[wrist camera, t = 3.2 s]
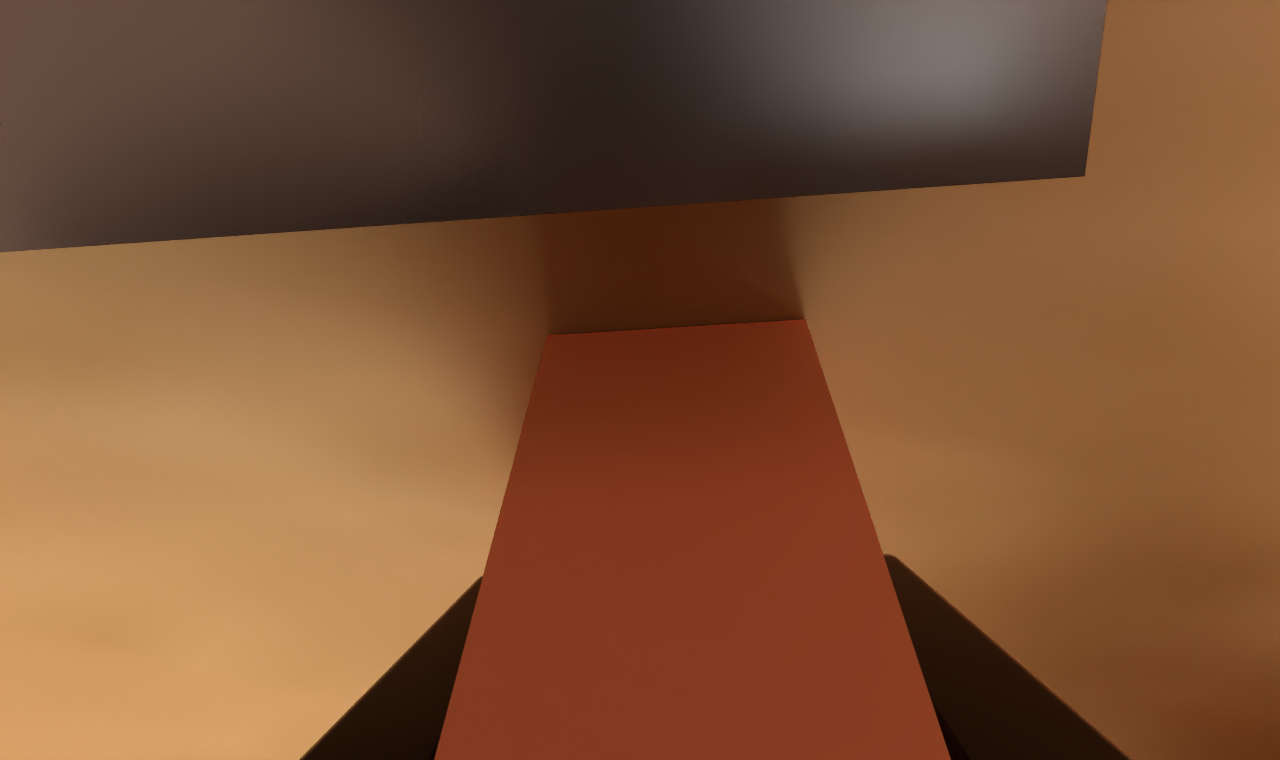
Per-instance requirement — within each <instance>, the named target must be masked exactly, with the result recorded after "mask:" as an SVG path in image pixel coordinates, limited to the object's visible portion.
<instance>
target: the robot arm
mask: <svg viewBox="0 0 1280 760" xmlns="http://www.w3.org/2000/svg"><path fill="white" fill-rule="evenodd" d="M883 556H884V559H885V562H886V565H887V568H888V571H889V574H890V577H891V580H892V583H893V586H894V589H895V592H896V595H897V598H898V601H899V604H900V607H901V610H902V613H903V616H904V619H905V622H906V625H907V628H908V631H909V635H910V638H911V641H912V644H913V647H914V650H915V653H916V656H917V659H918V662H919V665H920V668H921V671H922V674H923V677H924V680H925V683H926V686H927V689H928V692H929V695H930V698H931V701H932V704H933V707H934V710H935V713H936V716H937V719H938V722H939V725H940V728H941V731H942V734H943V737H944V740H945V743H946V746H947V750H948V753H949V756H950V759H951V760H1132V759H1130V758H1129V757H1128V756H1127V755H1126V754H1125V753H1123V752H1122V751H1121V750H1120V749H1119V748H1118V747H1116V746H1115V745H1114V744H1113V743H1112V742H1111V741H1109V740H1108V739H1107V738H1106V737H1105V736H1104V735H1102V734H1101V733H1100V732H1099V731H1098V730H1097V729H1095V728H1094V727H1093V726H1092V725H1091V724H1090V723H1088V722H1087V721H1086V720H1085V719H1084V718H1083V717H1082V716H1080V715H1079V714H1078V713H1077V712H1076V711H1075V710H1073V709H1072V708H1071V707H1070V706H1069V705H1068V704H1066V703H1065V702H1064V701H1063V700H1062V699H1061V698H1059V697H1058V696H1057V695H1056V694H1055V693H1054V692H1052V691H1051V690H1050V689H1049V688H1048V687H1047V686H1045V685H1044V684H1043V683H1042V682H1041V681H1040V680H1039V679H1037V678H1036V677H1035V676H1034V675H1033V674H1032V673H1030V672H1029V671H1028V670H1027V669H1026V668H1025V667H1023V666H1022V665H1021V664H1020V663H1019V662H1018V661H1016V660H1015V659H1014V658H1013V657H1012V656H1011V655H1009V654H1008V653H1007V652H1006V651H1005V650H1004V649H1002V648H1001V647H1000V646H999V645H998V644H997V643H996V642H994V641H993V640H992V639H991V638H990V637H989V636H987V635H986V634H985V633H984V632H983V631H982V630H980V629H979V628H978V627H977V626H976V625H975V624H973V623H972V622H971V621H970V620H969V619H968V618H966V617H965V616H964V615H963V614H962V613H961V612H959V611H958V610H957V609H956V608H955V607H954V606H952V605H951V604H950V603H949V602H948V601H947V600H946V599H944V598H943V597H942V596H941V595H940V594H939V593H937V592H936V591H935V590H934V589H933V588H932V587H930V586H929V585H928V584H927V583H926V582H925V581H923V580H922V579H921V578H920V577H919V576H918V575H916V574H915V573H914V572H913V571H912V570H911V569H909V568H908V567H907V566H906V565H905V564H904V563H903V562H901V561H900V560H899V559H898V558H896V557H895V556H893V555H890V554H883ZM482 578H483V576H481V577H480V578H479V579H477V580H476V581H475V582H474V583H473V584H472V585H471V586H470V587H469V588H468V589H467V591H466V592H465V593H464V594H463V595H462V596H461V597H460V598H459V599H458V600H457V601H456V602H455V603H454V604H453V605H452V606H451V607H450V608H449V609H448V610H447V611H446V612H445V613H444V614H443V615H442V616H441V617H440V618H439V619H438V620H437V621H436V622H435V623H434V624H433V625H432V626H431V627H430V628H429V629H428V630H427V631H426V632H425V633H424V634H423V635H422V636H421V637H420V638H419V639H418V640H417V641H416V642H415V643H414V644H413V645H412V646H411V647H410V648H409V649H408V650H407V651H406V652H405V653H404V654H403V655H402V656H401V657H400V658H399V659H398V660H397V661H396V662H395V663H394V664H393V665H392V666H391V667H390V668H389V669H388V670H387V671H386V673H385V674H384V675H383V676H382V677H381V678H380V679H379V680H378V681H377V682H376V683H375V684H374V685H373V686H372V687H371V688H370V689H369V690H368V691H367V692H366V693H365V694H364V695H363V696H362V697H361V698H360V699H359V700H358V701H357V702H356V703H355V704H354V705H353V706H352V707H351V708H350V709H349V710H348V711H347V712H346V713H345V714H344V715H343V716H342V717H341V718H340V719H339V720H338V721H337V722H336V723H335V724H334V725H333V726H332V727H331V728H330V729H329V730H328V731H327V732H326V733H325V734H324V735H323V736H322V737H321V738H320V739H319V740H318V741H317V742H316V743H315V744H314V745H313V746H312V747H311V748H310V749H309V750H308V751H307V752H306V753H305V755H304V756H303V757H302V758H301V759H300V760H434V759H435V755H436V751H437V747H438V744H439V740H440V736H441V732H442V729H443V725H444V721H445V717H446V714H447V710H448V706H449V702H450V699H451V695H452V691H453V687H454V684H455V680H456V676H457V672H458V669H459V665H460V661H461V657H462V653H463V650H464V646H465V642H466V638H467V635H468V631H469V627H470V623H471V620H472V616H473V612H474V608H475V605H476V601H477V597H478V593H479V590H480V586H481V582H482Z"/></svg>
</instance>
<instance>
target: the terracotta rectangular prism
mask: <svg viewBox="0 0 1280 760" xmlns="http://www.w3.org/2000/svg"><path fill="white" fill-rule="evenodd" d="M434 760H951V759H950V756H949V753H948V750H947V746H946V743H945V740H944V737H943V734H942V731H941V728H940V725H939V722H938V719H937V716H936V713H935V710H934V707H933V704H932V701H931V698H930V695H929V692H928V689H927V686H926V683H925V680H924V677H923V674H922V671H921V668H920V665H919V662H918V659H917V656H916V653H915V650H914V647H913V644H912V641H911V638H910V635H909V631H908V628H907V625H906V622H905V619H904V616H903V613H902V610H901V607H900V604H899V601H898V598H897V595H896V592H895V589H894V586H893V583H892V580H891V577H890V574H889V571H888V568H887V565H886V562H885V559H884V556H883V553H882V550H881V547H880V544H879V541H878V538H877V535H876V532H875V529H874V526H873V523H872V519H871V516H870V513H869V510H868V507H867V504H866V501H865V498H864V495H863V492H862V489H861V486H860V483H859V480H858V477H857V474H856V471H855V468H854V465H853V462H852V459H851V456H850V453H849V450H848V447H847V444H846V441H845V438H844V435H843V432H842V429H841V426H840V423H839V420H838V417H837V414H836V411H835V408H834V404H833V401H832V398H831V395H830V392H829V389H828V386H827V383H826V380H825V377H824V374H823V371H822V368H821V365H820V362H819V359H818V356H817V353H816V350H815V347H814V344H813V341H812V338H811V335H810V332H809V329H808V326H807V323H806V320H805V319H800V320H784V321H768V322H752V323H736V324H720V325H704V326H689V327H673V328H657V329H641V330H625V331H609V332H593V333H577V334H561V335H547V338H546V342H545V345H544V349H543V353H542V357H541V360H540V364H539V368H538V372H537V375H536V379H535V383H534V387H533V390H532V394H531V398H530V402H529V405H528V409H527V413H526V417H525V420H524V424H523V428H522V432H521V435H520V439H519V443H518V447H517V451H516V454H515V458H514V462H513V466H512V469H511V473H510V477H509V481H508V484H507V488H506V492H505V496H504V499H503V503H502V507H501V511H500V514H499V518H498V522H497V526H496V529H495V533H494V537H493V541H492V544H491V548H490V552H489V556H488V560H487V563H486V567H485V571H484V575H483V578H482V582H481V586H480V590H479V593H478V597H477V601H476V605H475V608H474V612H473V616H472V620H471V623H470V627H469V631H468V635H467V638H466V642H465V646H464V650H463V653H462V657H461V661H460V665H459V669H458V672H457V676H456V680H455V684H454V687H453V691H452V695H451V699H450V702H449V706H448V710H447V714H446V717H445V721H444V725H443V729H442V732H441V736H440V740H439V744H438V747H437V751H436V755H435V759H434Z"/></svg>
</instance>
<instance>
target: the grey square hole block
mask: <svg viewBox="0 0 1280 760" xmlns="http://www.w3.org/2000/svg"><path fill="white" fill-rule="evenodd" d="M1106 6H1107V0H0V252H10V251H25V250H39V249H53V248H67V247H82V246H96V245H110V244H125V243H139V242H153V241H167V240H182V239H196V238H210V237H225V236H239V235H253V234H267V233H282V232H296V231H310V230H324V229H339V228H353V227H367V226H382V225H396V224H410V223H424V222H439V221H453V220H467V219H482V218H496V217H510V216H524V215H539V214H553V213H567V212H581V211H596V210H610V209H624V208H639V207H653V206H667V205H681V204H696V203H710V202H724V201H739V200H753V199H767V198H781V197H796V196H810V195H824V194H839V193H853V192H867V191H881V190H896V189H910V188H924V187H938V186H953V185H967V184H981V183H996V182H1010V181H1024V180H1038V179H1053V178H1067V177H1081V176H1085V169H1086V161H1087V154H1088V146H1089V138H1090V130H1091V123H1092V115H1093V107H1094V99H1095V92H1096V84H1097V76H1098V68H1099V61H1100V53H1101V45H1102V37H1103V30H1104V22H1105V14H1106Z"/></svg>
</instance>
